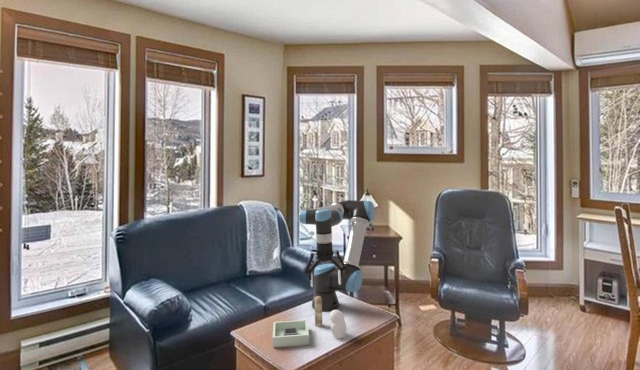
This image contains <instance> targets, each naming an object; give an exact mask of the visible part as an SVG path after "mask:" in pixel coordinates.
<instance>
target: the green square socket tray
mask: <svg viewBox="0 0 640 370" xmlns="http://www.w3.org/2000/svg"><path fill="white" fill-rule="evenodd" d="M299 346H310V332H309V325H308V320H307V319H299V320H288V321H287V320H286V321H285V320H283V321H273V323H272V348H273V349H274V348H283V347H284V348H286V347H299Z"/></svg>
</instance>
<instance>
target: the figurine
mask: <svg viewBox="0 0 640 370" xmlns="http://www.w3.org/2000/svg"><path fill="white" fill-rule="evenodd" d="M329 320H330V331H331V335H332V336H333V338H334V339H335V338H336V339H344V338H346V337H347V336H346V335H347V323H346V320H345V317H344V314H343V313H342V311H341V310H339V309H334V310H331V311H330V313H329Z"/></svg>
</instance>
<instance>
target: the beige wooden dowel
mask: <svg viewBox="0 0 640 370" xmlns="http://www.w3.org/2000/svg"><path fill="white" fill-rule="evenodd" d="M313 297H314V296H313ZM314 300H315V309H314V321H315V322H314V326H315V327H316V328H320V327H322V326H323V311H322V297H320V296H316V297H314Z"/></svg>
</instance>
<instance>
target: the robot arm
mask: <svg viewBox="0 0 640 370" xmlns="http://www.w3.org/2000/svg"><path fill="white" fill-rule="evenodd" d="M298 213H299V214H298V221H299V223H301V224H303V225H315V235H316V236H315V240H316V252H312V251H311V252H310V255H309V258H308V261H307V263H306V265H305V267H304V270H303V271H304V273H306V274H308V275H307V277H308V280H309V281H310V287H311V288H314V294H313V298H312V300H311V307H312V308H313V309H314V310H315V300H314V297H316V296H320V297H322V312H328V311H330V312H331V311H333V310H338V308H339V306H340V301H339V298H338V296H337V293H336V291H342V292H347V293H356V292H358V291H359V290H360V288H361V286H362V284H363V280H364V278H363V277H364V274H363V272H362V271H361V267H360V266H359V264H360V259H361V255H362V251H363V250H362V249H363V245H364V240H365V235H366V229H367V227H368V226H369V225H370V223H371V222H373V221H374V219H375V217H376V211H375V206H374V203H373V202H372V201H370V200H365V199H364V200H355V199H354V200H350V199H348V200H347V199H346V200H342V201H338V202H337V201H336V202H334V203H333V202H332V204H331V205H327V206H323V207H318V208H312V209H301V210H300V211H299V212H298ZM343 220H349V221H350V223H351V227H350V231H349V235H348V239H347V244H346V247H345V248H346V249H345V253H344V257H343V259H342V257H341V256H340V251H339V250H338V249H336V250H335V251H334V250H333V242H332V241H333V233H332V231H333V230H332V229H333V228H332V227H335V226H337V225H339V224H341V223H342V221H343ZM334 255H335V256H336V258H337V259H338V261H339V263H338V262H337V261H336V260H335V259H334V258H333V256H334ZM315 257H317V258H316V259H315V261H314V258H315ZM313 261H314V262H313ZM330 261H331V263H323V262H330ZM312 262H313V263H312ZM320 262H322V264H319V263H320ZM311 264H312V265H311Z"/></svg>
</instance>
